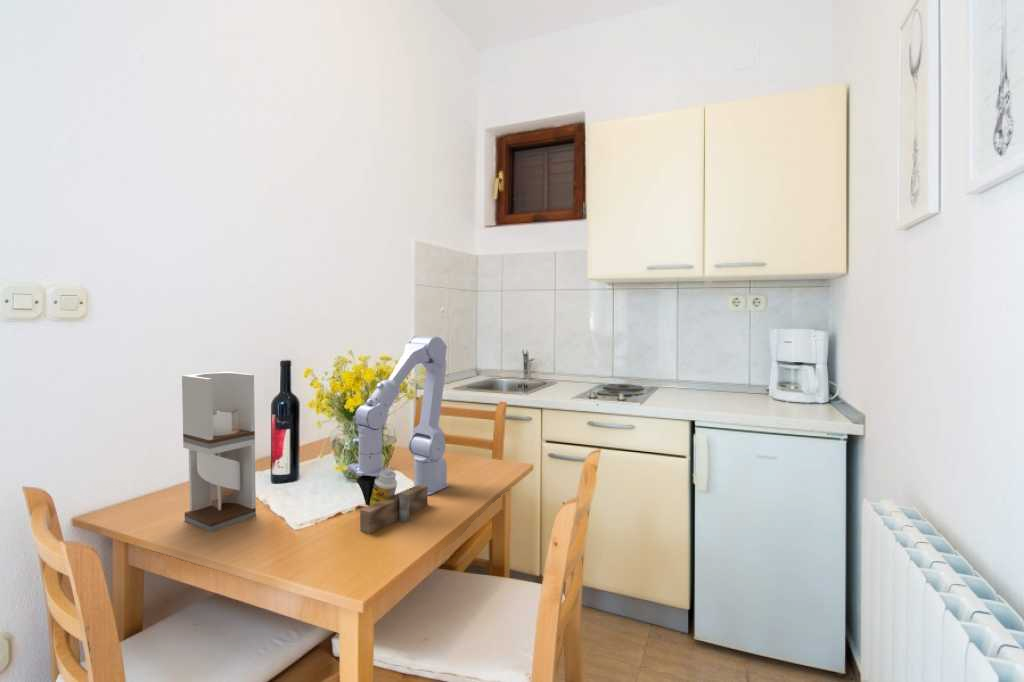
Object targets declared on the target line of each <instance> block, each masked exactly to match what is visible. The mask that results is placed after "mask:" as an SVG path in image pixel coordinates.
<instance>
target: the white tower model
mask: <svg viewBox="0 0 1024 682" xmlns="http://www.w3.org/2000/svg"><path fill="white" fill-rule="evenodd" d="M181 387H182V388H181V396H182V398H181V399H182V444H183V445H182V447H183V448H184V449H187V450H188V476H189V477H188V479H189V480H188V481H189V482H188V483H189V485H188V486H189V510H188V511H184V522H187V523H188V524H191V525H193V526H195V527H198V528H200V529H203V530H205V531H207V532H209V533H212V532H215V531H217V530H220V529H222V528H226V527H228V526H233V524H237V523H239V522H240V523H241V522H242V521H245V520H247V519H252V518H253V517H256V516H257V506H256V505H257V502H256V500H257V499H256V495H257V494H256V443H255V442H256V431H255V428H256V426H255V425H256V422H255V374H250V373H242V372H234V371H220V372H208V373H198V374H197V373H195V374H186V375H181Z"/></svg>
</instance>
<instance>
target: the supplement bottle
mask: <svg viewBox="0 0 1024 682" xmlns="http://www.w3.org/2000/svg"><path fill="white" fill-rule="evenodd" d="M387 472H388V473H391V472H394V474H393V475H390V476H387V475H385V474H388V473H387ZM396 475H397V474H396V472H395V471H394V470H392V469H386V468H385V469H384V470H381V471H380V474H379V476H378V477H377V478H376V479H375V481H374V486H373V490H372V495H371V499H370V504H369V506H370V505H372V504H374V503H377V502H379V501H381V500H384V499H386V498H388V497H391V496H393V495H395V494H396V491H397V486H398V482H397V480H396Z"/></svg>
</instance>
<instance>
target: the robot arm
mask: <svg viewBox="0 0 1024 682" xmlns="http://www.w3.org/2000/svg"><path fill="white" fill-rule="evenodd" d="M447 348H448V346H447V345H446V343H445V341H444V340H443V339H442V338H441V337H439V336H419V335H414V336H411V337H410V338H409V340H408V342H407V343H406V344H405V345H404V352H403V354H402V355H401V357H400V358H399V361H398V362H397V364H396V365H395V367H394V369H393V371H392V372H391V374H390V375H389V377H388V378H387V379H384V380H383V379H382V380H381V381H380V382H378V383H377V384H376V387H375V389H374V391H373V392H372V394H371V395H370V397H369V398H368V399H367V400H366V401H365V404H362V405H360V406H359V407H358V408H357V409H356V411H355V413H354V414H355V415H353V417H352V418H353V421H354V423H355V425H357V432H358V463H354V462H353V463H350V464H348V465H347V473H352V474H353V473H355V475H356V476H358V477H357V478H356V481H355V482H356V483H357V484H358V486H359V488H360V490H361V492H362V496H363V499H364V503H365V505H366V506H369V504H370V499H371V495H372V490H373V486H374V481H375V479H376V478H377V477H378V476H379V474H380V471H381V470H384V469H386V468H384V467H383V432H382V431H383V426H384V425H385V424H386V423H387V420H388V413H389V411H390V408H391V407H392V405H393V403H394V402H395V400H396V399H397V397H398V396H399V395H400V393H401V389H400V386H401V385H402V383H403V382H404V380H405V379H406V378H407V377H408V376H409V374H410V373H411V372H412V370H413V369H414V368H415V367H416V366H417V365H419V364H421V365H422V366H423V367H424V368H425V371H426V373H425V380H424V386H423V387H424V388H423V393H422V402H421V410H420V418H419V424H417V426H415V427H414V428H413V429H412V434H411V436H410V438H409V440H408V445H407V446H408V450H409V453H410V454H412V458H413V486H416V485H419V484H420V485H424V486H428V496H430V495H432V494H434V493H436V492H438V491H440V490H442V489H445V488H447V487H449V486H450V484H449V483H447V477H448V474H447V472H448V469H447V467H448V466H447V464H448V463H447V461H446V458H444V456H443V455H444V454H445V451H446V442H445V435H446V434H445V432H444V431H443V429H442V428H441V427H440V419H441V418H440V416H441V409H442V401H443V393H444V385H445V380H446V379H445V378H446V371H447V361H446V355H447ZM394 472H395V471H394ZM394 472H391V473H388V472H387V473H388V474H385V475H387V476H390V475H393V474H394Z"/></svg>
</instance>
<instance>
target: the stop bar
mask: <svg viewBox="0 0 1024 682" xmlns="http://www.w3.org/2000/svg"><path fill="white" fill-rule="evenodd" d="M413 486H414V485H413ZM411 487H412V486H411ZM408 488H409V489H408ZM408 488H407V489H404V490H401V492H398V493H395V495H393V496H391V497H388V498H386V499H384V500H381V501H379V502H377V503H374V504H372V505H370V506H368V505H366V507H363V508H361V509H359V513H360V514H359V516H360V518H359V520H360V521H359V524H360V525H359V526H360V528H359V529H360V532H363V533H365V534H369V535H370V534H372V533H374V532H377V531H379V530H381V529H382V528H384V527H386V526H389V525H390V524H392V523H395V522H398V520H399V522H403V523H404V522H409V521H410V515H411V514H412V513H414V512H416V511H418V510H421V509H423V508H425V507H427V506H428V496H429V495H428V486H424V485H420V484H419V485H416V486H414V487H412V488H410V487H408Z"/></svg>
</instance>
